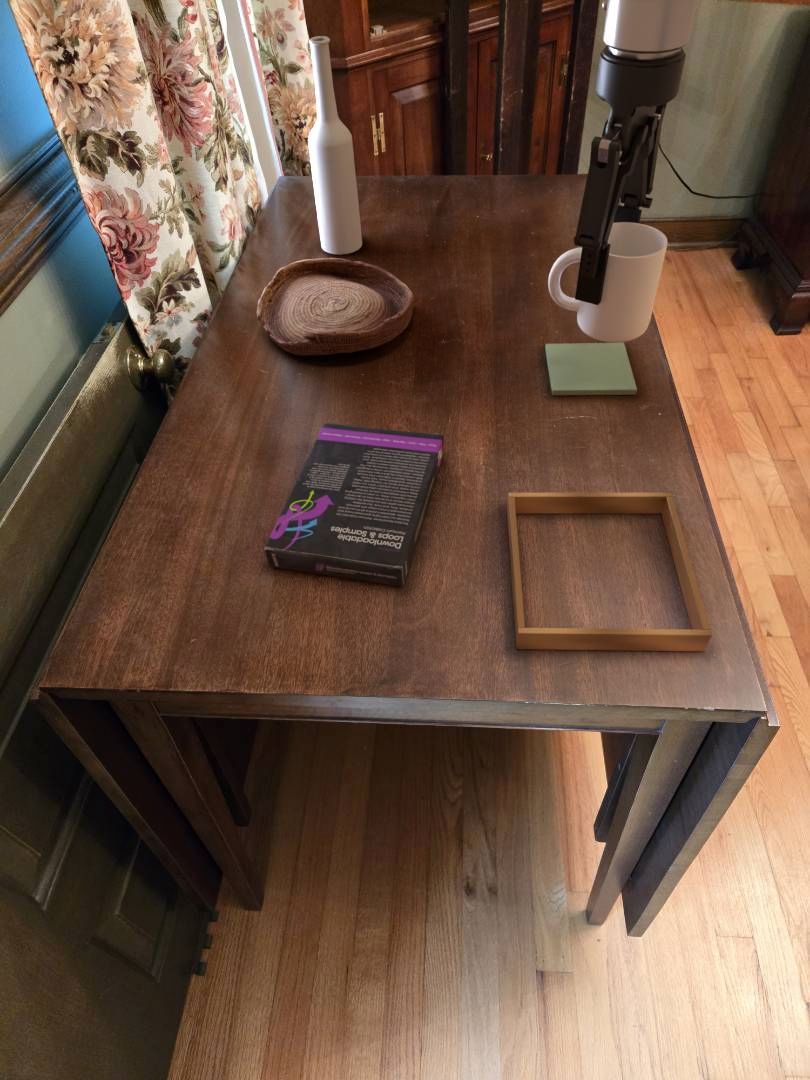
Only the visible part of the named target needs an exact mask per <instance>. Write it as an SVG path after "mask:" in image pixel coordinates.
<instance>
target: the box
mask: <svg viewBox="0 0 810 1080" xmlns="http://www.w3.org/2000/svg"><path fill="white" fill-rule="evenodd" d="M321 426H322V427H321V428H320V431H319V433H318V436H317V437H316V439H315V442H314V444H313V446H312V448H311V450H310V452H309V454H308V456H307V459H306V460H305V463H304V465H303V467H302V469H301V471H300V473H299V475H298V477H297V480H296V482H295V483H294V486H293V488H292V489H291V492H290V493H289V496H288V498H287V501H286V502H285V504H284V506H283V509H282V510H281V512H280V515H279V517H278V518H277V521H276V523H275V525H274V527H273V530H271V531H272V532H270V535H269V537H268V538H267V541H266V543H265V545H264V547H263V549H264V554H265V557H266V560H267V562H268V565H269V567H270V568H275V569H282V570H289V571H297V572H305V573H310V574H317V575H324V576H329V577H337V578H344V579H351V580H358V581H365V582H370V583H377V584H384V585H389V586H395V587H403V588H404V585H405V583H406V580H407V577H408V573H409V570H410V567H411V564H412V561H413V558H414V554H415V550H416V547H417V544H418V541H419V537H420V534H421V531H422V527H423V523H424V521H425V517H426V513H427V511H428V507H429V504H430V501H431V498H432V494H433V491H434V488H435V484H436V480H437V477H438V473H439V469H440V468H441V463H442V460H443V456H444V445H445V444H444V442H445V437H444V436H445V435H444V433H443V434H441V433H426V432H417V431H405V430H394V429H387V428H376V427H364V426H355V425H348V424H347V425H346V424H338V423H331V422H324V423H323V424H322V425H321Z"/></svg>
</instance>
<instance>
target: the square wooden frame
mask: <svg viewBox="0 0 810 1080" xmlns="http://www.w3.org/2000/svg"><path fill="white" fill-rule="evenodd" d="M517 514H566V515H567V514H570V515H571V514H581V515H582V514H583V515H584V514H591V515H592V514H594V515H596V514H597V515H599V514H601V515H602V514H609V515H611V514H612V515H613V514H614V515H616V514H619V515H620V514H622V515H623V514H629V515H630V514H631V515H633V514H635V515H636V514H637V515H639V514H640V515H641V514H643V515H644V514H647V515H649V514H652V515H653V514H654V515H655V514H656V515H657V514H660V515H661V518H662V521H663V525H664V530H665V534H666V537H667V540H668V545H669V548H670V552H671V556H672V559H673V563H674V567H675V570H676V574H677V578H678V583H679V586H680V589H681V594H682V597H683V601H684V604H685V605H684V606H685V608H686V612H687V616H688V619H689V623H690V627H691V629H681V628H680V629H679V628H678V629H677V628H675V629H673V628H670V629H669V628H596V627H595V628H585V627H584V628H583V627H578V628H577V627H526V624H525V611H524V599H523V598H524V597H523V586H522V575H521V574H522V573H521V562H520V548H519V537H518V536H519V535H518V525H517V524H518V523H517ZM506 517H507V518H506V519H507V530H508V546H509V562H510V573H511V574H510V577H511V590H512V591H511V593H512V605H513V617H514V618H513V620H514V634H515V635H514V636H515V648H516V650H559V651H560V650H563V651H564V650H565V651H566V650H568V651H637V652H639V651H640V652H641V651H642V652H643V651H645V652H647V651H648V652H705V651H706V649H707V647H708V644H709V643H710V640H711V639H712V636H713V633H712V630H711V627H710V623H709V620H708V616H707V613H706V609H705V606H704V603H703V598H702V595H701V591H700V588H699V585H698V581H697V578H696V574H695V570H694V568H693V564H692V560H691V557H690V553H689V549H688V546H687V543H686V539H685V536H684V532H683V529H682V526H681V521H680V518H679V515H678V511H677V508H676V504H675V500H674V498H673V493H672V492H508V493H507V503H506Z"/></svg>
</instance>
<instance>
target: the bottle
mask: <svg viewBox="0 0 810 1080" xmlns="http://www.w3.org/2000/svg"><path fill="white" fill-rule="evenodd" d="M330 42H331V39H330V38H329V37H328V36H325V35H319V36H313V37H311V38H310V39H308V43H309V44H310V53H311V60H312V61H311V62H312V67H313V68H312V71H313V78H314V87H315V102H316V103H315V104H316V117H317V118H316V121H315V123H314V125H313V127H312V128H311V130H310V132H309V135H308V139H307V142H308V150H309V160H310V167H311V176H312V182H313V183H312V185H313V191H314V199H315V207H316V215H317V216H316V217H317V223H318V231H319V238H320V246H321V249H322V251H324V252H325V253H327V254H331V255H340V256H341V255H349V254H352V253H354V252H356V251H359V250H360V249H361V247H362V246H363V239H362V238H363V236H362V235H363V234H362V225H361V224H362V223H361V214H360V203H359V194H358V183H357V175H356V174H357V173H356V163H355V154H354V153H355V151H354V145H353V144H354V143H353V142H354V141H353V135H352V133H351V131H350V130H349V128H347V126H346V125H345V124H344V123H343V121H341V119H340V117H339V115H338V109H337V102H336V96H335V89H334V81H333V73H332V63H331V62H332V61H331V54H330V46H329V43H330Z"/></svg>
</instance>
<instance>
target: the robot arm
mask: <svg viewBox="0 0 810 1080" xmlns="http://www.w3.org/2000/svg"><path fill="white" fill-rule="evenodd" d="M698 2H699V0H603V1H602V2H601V3H602V4H601V7H602V9H603V11H605V12H606V13H605V20H604V28H603V35H602V40H603V43H604V45H606V46H605V47H603V49H602V50H601V51H600V53H599V60H598V67H597V68H598V69H597V74H596V82H595V93H596V95H597V97H598V98H599V99H600V100H601V101H603V102H606V103H607V104H608V105H609V107H610V112H609V116H608V119H606V121H605V122H604V126H603V128H602V133H601V136H594V137H593V138H592V140H591V143H590V156H589V167H588V172H587V175H586V177H587V178H586V182H585V186H584V191H583V197H582V202H581V207H580V211H579V215H578V217H579V218H578V221H577V227H576V232H575V235H574V237H573V243H574V246H576V247H579V248H580V247H582V253H581V260H580V262H579V268H578V273H577V282H576V288H575V295H574V298H575V299H576V300H580V301H583V302H587V303H591V304H595V305H599V304H600V302H601V298H602V292H603V286H604V280H605V274H606V268H607V263H608V257H609V251H610V245H611V244H608V238H609V235H610V232H611V228H612V225H613V223H617V222H631V223H639V224H641V223H640V222H641V218H642V213H643V212H642V211H643V209H640V208H644V209H650V208H651V206H652V204H653V197H647V196H649V195H651V193H652V191H653V189H654V187H653V186H654V180H655V175H656V174H655V173H656V167H657V159H658V153H659V148H660V147H659V146H660V141H661V140H660V139H661V133H662V127H663V122H664V117H665V113H666V110H667V109H666V108H667V106H668V103H669V102H671V101H673V100H674V99H675V98H676V97H677V96H678V93H679V91H680V86H681V83H682V82H681V81H682V76H683V71H684V67H685V63H686V58H687V54H686V52H685V49H683V48H684V47H685V46H687V45H688V44H689V42H690V40H691V35H692V31H693V26H694V21H695V15H696V10H697V6H698ZM620 204H623V205H620Z"/></svg>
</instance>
